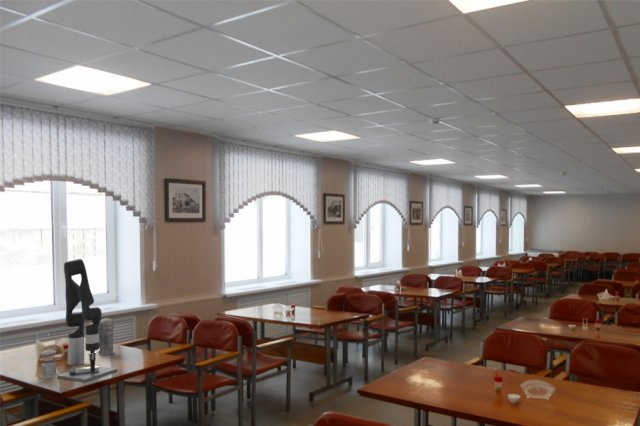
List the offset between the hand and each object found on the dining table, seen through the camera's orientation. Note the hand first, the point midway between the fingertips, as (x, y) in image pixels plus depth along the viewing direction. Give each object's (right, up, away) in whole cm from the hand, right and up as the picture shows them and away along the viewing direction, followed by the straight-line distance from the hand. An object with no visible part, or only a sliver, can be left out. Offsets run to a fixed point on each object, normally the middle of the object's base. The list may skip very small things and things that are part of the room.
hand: (92, 371), depth 296 cm
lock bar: (-6, -1, +2) cm, 6 cm away
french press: (-28, -4, +4) cm, 29 cm away
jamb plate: (-5, -3, +3) cm, 6 cm away
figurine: (-16, -5, +56) cm, 58 cm away
